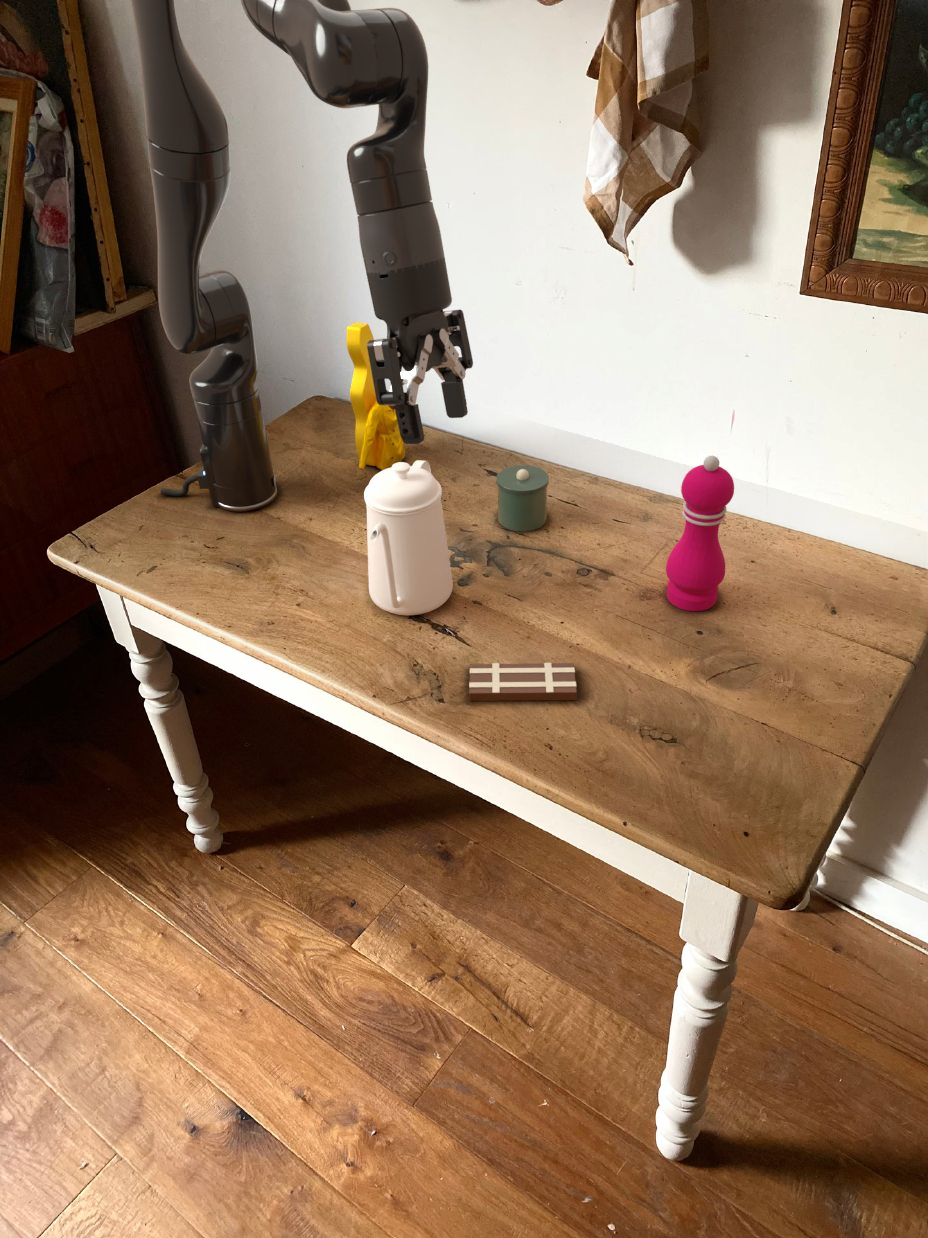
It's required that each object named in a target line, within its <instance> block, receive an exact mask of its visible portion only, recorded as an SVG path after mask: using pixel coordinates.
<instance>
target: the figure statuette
mask: <svg viewBox="0 0 928 1238" xmlns="http://www.w3.org/2000/svg"><path fill="white" fill-rule="evenodd" d="M370 340H375V339H374V335H373V333H372V329H371V327H370V325H369V324H368V323H364V322H353V323H352V324H350V325H349V326H347V327H346V349H347V353H348V356H349V357H350V359H351V361H352V364H353V374H352V379H351V384H350V388H349V399H350V404H351V407H352V410H353V413H354V417H355V429H354V434H355V435H354V438H355V440H354V441H355V448H356V449H355V450H356V453H357V457H358V460H359V462H358V469H359V470H365V468H366V465H367V466H373V467H376V468H378V469H379V470H381V471H383V470H385V469H388V468H391V467H392V465H393V464H395V463H398V462H403V460H404V458H405V457H406V446H405V443H404V442H403V440H402V438H401V436H400V432H399V427H398V426H399V425H398V422H397V417H396V413H395V409H394V407H393V406H390V405H379V404H378V403H377V400H376V394H375V389H374V383H373V377H372V372H371V366H370V360H369V355H368V349H367V343H368V341H370ZM387 392H390V390H387Z"/></svg>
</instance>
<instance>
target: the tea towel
mask: <svg viewBox="0 0 928 1238" xmlns="http://www.w3.org/2000/svg"><path fill="white" fill-rule="evenodd" d="M468 682H469V684H468V686H469V687H468V688H469V689H468V697H469V699H468V700H469V701H470V702H489V701H490V702H493V701H496V702H497V701H499V702H501V701H507V702H508V701H510V702H511V701H515V702H516V701H577V699H578V690H577V680H576V670H575V664H574V663H573V662H568V663H567V662H565V663H564V662H562V663H561V662H560V663H559V662H558V663H556V662H555V663H552V662H543V663H500V662H492V663H470V664H469V681H468Z"/></svg>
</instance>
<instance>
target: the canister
mask: <svg viewBox="0 0 928 1238" xmlns="http://www.w3.org/2000/svg"><path fill="white" fill-rule="evenodd" d="M495 479H496V480H495V481H496V482H495V483H496V486H497V521H498V523H499V524H500V526H502V528H504V529H507V530H509V531H513V532H521V533H522V532H531V531H535V530H538V529H540V528H542V527H543V526H544V525H545V523H546V522H547V511H548V510H547V509H548V507H547V506H548V487H549V484H550V476H549V474H548V473H547V471H546V470H544V469H542V468H541V467H538V466H534V465H529V464H517V465H511V466H508V467H505V468H503V469H501V470H500V471H499V472H498V473H497V475H496V478H495Z"/></svg>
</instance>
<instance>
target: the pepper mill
mask: <svg viewBox="0 0 928 1238" xmlns="http://www.w3.org/2000/svg"><path fill="white" fill-rule="evenodd" d="M680 493H681V496H682V498H683V500H684V502H683V505H682V508H683V509H682V512H681V514H682V517H683V518H684V519H685V524H684V529H683V533H682V535H681V537H680V538H679V540H678V542H677V543H676V544H675V546H673V548H672V550H671V551H670V553H669V555H668V557H667V560H666V565H665V574H666V577H667V578H668V582H667V586H666V599H667V600H668V601H669V603H670V604H672V606H674V607H675V608H678V609H680V610H683V611H687V612H688V611H689V612H701V611H706V610H709V609H711V608H712V607H713V606H715V604H716V603H717V600H718V593H719V585H721V583H722V582H723V581H724V579H725V576H726V561H725V560H726V559H725V556H724V553H723V550H722V546H721V545H720V540H719V528H720V524H721V523H722V522H724V521H725V519H726V513H727V505H728V504H729V503H730V502H731V500H732V499H733V497H734V495H735V482H734V479H733V476H732V475H731V473H730V472H729V471H728V470H726V469H725V468H723V467H722V466H720V459H719V458H718V457H717V456H715V455H709V456H706V457H705V458H704V460H703V464H700V465H697V466H695V467H693V468H691V469H690V470H689V471H687V473H686V474H685V476H684V478H683V479H682V483H681V485H680Z"/></svg>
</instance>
